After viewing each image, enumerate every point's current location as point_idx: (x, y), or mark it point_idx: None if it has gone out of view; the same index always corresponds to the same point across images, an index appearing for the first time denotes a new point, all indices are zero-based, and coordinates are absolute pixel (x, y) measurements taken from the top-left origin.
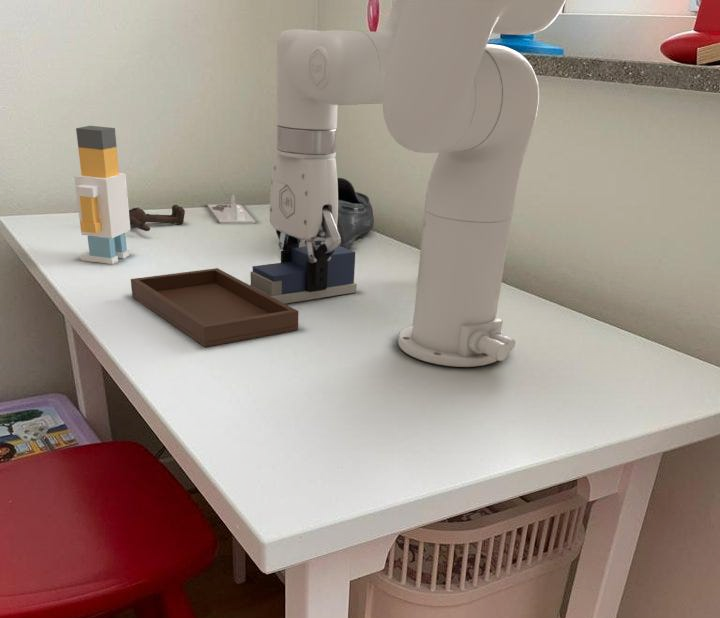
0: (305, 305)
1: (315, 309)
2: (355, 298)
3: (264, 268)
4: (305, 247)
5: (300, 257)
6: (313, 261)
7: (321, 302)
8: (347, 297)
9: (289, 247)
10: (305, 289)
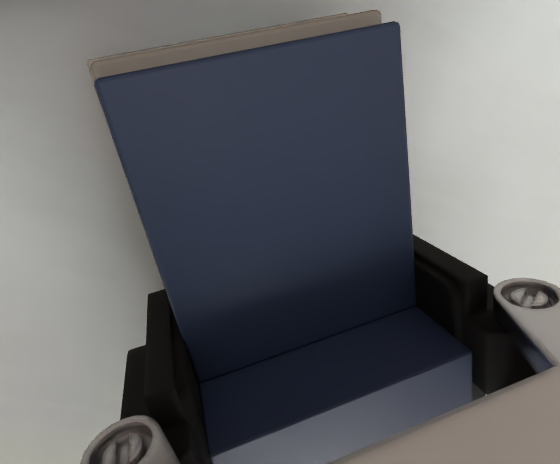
0: (98, 248)
1: (24, 278)
2: None
3: (320, 89)
4: None
5: (352, 366)
6: (89, 446)
7: (134, 326)
8: None
9: (482, 340)
10: None
